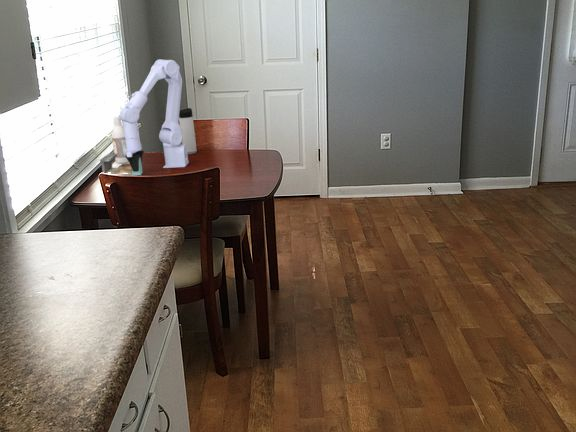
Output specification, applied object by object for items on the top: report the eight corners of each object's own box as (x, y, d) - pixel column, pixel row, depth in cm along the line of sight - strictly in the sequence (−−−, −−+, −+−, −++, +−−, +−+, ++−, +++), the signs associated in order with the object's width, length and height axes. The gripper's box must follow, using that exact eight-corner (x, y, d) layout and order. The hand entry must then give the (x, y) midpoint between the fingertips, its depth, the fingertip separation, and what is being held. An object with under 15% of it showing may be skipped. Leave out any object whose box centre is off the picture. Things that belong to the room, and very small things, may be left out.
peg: (142, 173, 267) (140, 156, 265) (140, 175, 264) (138, 158, 262) (135, 173, 267) (132, 157, 265) (132, 175, 264) (130, 159, 262)
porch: (140, 168, 275) (137, 152, 273) (133, 174, 266) (130, 158, 264) (110, 170, 276) (107, 154, 274) (102, 176, 267) (99, 159, 265)
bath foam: (113, 161, 291) (106, 117, 284) (128, 159, 294) (122, 115, 288) (118, 164, 285) (111, 119, 279) (133, 161, 288) (127, 117, 282)
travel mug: (200, 151, 298) (195, 108, 292) (191, 154, 293) (185, 110, 287) (189, 150, 302) (184, 107, 295) (180, 153, 297) (175, 110, 290)
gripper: (128, 134, 268) (132, 166, 272) (116, 142, 254) (122, 175, 259) (144, 133, 267) (149, 165, 272) (134, 141, 254) (139, 174, 258)
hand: (137, 170), depth 265 cm, fingers closed on peg, 3 cm apart
